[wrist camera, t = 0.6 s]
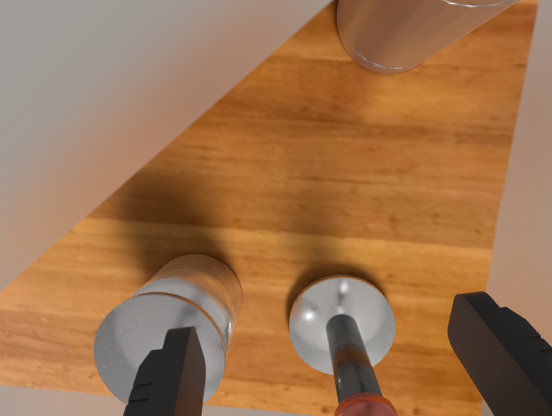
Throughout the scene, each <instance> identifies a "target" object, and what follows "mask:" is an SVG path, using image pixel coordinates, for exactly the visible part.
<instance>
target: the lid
mask: <svg viewBox="0 0 552 416" xmlns="http://www.w3.org/2000/svg"><path fill="white" fill-rule="evenodd" d="M289 332H290V338H291V342H292V344H293V347H294V349H295V350H296V352H297V353H298V355H299V356H300V357H301V358H302V359H303V360H304V362H306V363H307V364H308V365H309V366H311V367H313V368H314V369H316V370H318V371H320V372H323V373H326V374H331V375H334V379H335V385H336V391H337V397H338V402H339V406H338V407H337V409H336V411H335V415H334V416H398V414H397V412H396V409H395V408H394V406H393V405H392V403H391V402H390V401H389V400H387V399H386V398H384V397H383V396H382V393H381V391H380V388H379V385H378V382H377V379H376V376H375V374H374V371H373V368H372V367H373V366H375V365H376V364H377V363H379V362H380V361H381V360H382V359H383V358H384V356H385V355H386V354H387V353H388V351H389V349H390V348H391V345H392V343H393V340H394V336H395V318H394V314H393V311H392V309H391V307H390V305H389V303H388V302H387V300H386V298H385V297H384V295H383V294H382V293H381V292H380V290H379V289H378V288H377V287H375V286H374V285H373V284H371V283H370V282H368V281H367V280H364V279H362V278H360V277H357V276H353V275H347V274H335V275H329V276H325V277H322V278H319V279H317V280H315V281H313V282H312V283H310V284H309V285H307V286H306V287H305V288H304V289H303V290H302V291H301V292H300V293H299V295H298V296H297V297H296V299H295V301H294V303H293V305H292V308H291V312H290V319H289Z"/></svg>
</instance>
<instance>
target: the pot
mask: <svg viewBox="0 0 552 416" xmlns="http://www.w3.org/2000/svg"><path fill="white" fill-rule="evenodd" d="M241 307H242V291H241V287H240V284H239V282H238V280H237V278H236V276H235V275H234V273H233V272H232V271H231V270H230V269H229V268H228V267H227V266H226V265H225V264H224V263H222V262H221V261H219V260H217V259H215V258H213V257H210V256H207V255H202V254H187V255H182V256H180V257H177V258H175V259H173V260H171V261H170V262H168V263H167V264H166V265H165V266H164V267H163V268H162V269H160V270H159V271H158V272H157V273H156V274H155V275H154V276H153V277H152V278H151V279H150V280H149V281H148V282H146V283H145V284H144V285H143V286H142V287H141V288H140V289H139V290H138V291H137V292H136V293H135V294H134V295H132V296H131V297H130V298H128V299H126V300H125V301H123V302H122V303H120V304H119V305H118V306H117V307H115V308H114V309H113V310H112V311H111V312H110V313H109V314H108V315H107V316H106V317H105V319H104V320H103V321H102V323H101V325H100V326H99V329H98V331H97V334H96V337H95V342H94V358H95V363H96V367H97V370H98V373H99V375H100V377H101V379H102V380H103V382H104V384H105V385H106V387H107V388H108V389H109V390H110V391H111V392H112V393H113V394H114V395H115V396H116V397H117V398H118V399H119V400H121V401H122V402H123V403H125V404H126V405H128V399H129V396H130V393H131V390H132V389H133V384H134V380H135V377H136V374H137V371H138V368H139V366H140V365H141V363H142V362H143V360H144V359H145V358H146V356H147V355H148V354H149V352H150V351H151V350H156V349H162V347H163V344H164V340H165V336H166V333H167V331H168V330H169V329H174V328H182V327H190V326H194V327H195V329H196V332H197V335H198V338H199V341H200V345H201V348H202V351H203V354H204V358H205V363H206V381H205V389H204V397H203V404H204V403H205V402H206V401H208V400H209V399H210V397H211V396H212V395H213V394H214V393H215V391H216V390H217V388H218V386H219V384H220V382H221V379H222V376H223V373H224V370H225V365H226V354H227V351H228V348H229V345H230V342H231V339H232V336H233V333H234V330H235V327H236V323H237V320H238V317H239V314H240V311H241Z"/></svg>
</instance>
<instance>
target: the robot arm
mask: <svg viewBox="0 0 552 416" xmlns="http://www.w3.org/2000/svg"><path fill="white" fill-rule="evenodd" d="M518 1H519V0H339V2H338V7H337V29H338V34H339V38H340V40H341V42H342V45H343V47H344V49H345V50H346V51H347V53H348V54H349V56H350V57H351V58H352V59H353V60H354V61H355V62H357V63H358V64H359V65H360V66H362V67H364V68H366V69H368V70H370V71H374V72H377V73H384V74H394V73H400V72H404V71H407V70H409V69H412V68H414V67H416V66H417V65H419V64H421V63H422V62H424V61H425V60H427V59H429V58H430V57H432V56H433V55H435V54H437V53H438V52H440V51H442V50H443V49H445V48H446V47H448V46H449V45H451V44H452V43H454V42H456V41H457V40H459V39H460V38H462V37H463V36H465V35H466V34H468V33H470V32H471V31H473V30H474V29H476V28H477V27H479V26H480V25H482V24H484V23H485V22H487V21H488V20H490V19H491V18H493V17H494V16H496V15H498V14H499V13H501V12H502V11H504V10H505V9H507V8H508V7H510V6H512V5H513V4H515V3H516V2H518ZM448 337H449V341H450V344H451V346H452V348H453V350H454V352H455V353H456V355H457V357H458V358H459V360H460V361H461V363H462V365H463V366H464V368H465V369H466V371H467V373H468V374H469V376H470V377H471V379H472V381H473V382H474V384H475V385H476V387H477V389H478V390H479V392H480V393H481V395H482V397H483V398H484V400H485V401H486V403H487V405H488V406H489V408H490V409H491V411H492V413H493V414H494V416H552V347H551V346H550V345H549V344H548V343H547V342H546V341H545V340H544V339H542V338H541V336H540V334H539V333H538V332H537V331H536V330H535V329H534V328H533V327H532V326H531V325H530V324H529V322H528V321H527V320H526V319H524V318H522V317H521V316H520V315H518V314H516V313H515V312H513V311H512V310H510V309H509V308H507V307H502V308H500V307H499V306H498V305H497V304H496V302H495V301H494V300H493V299H492V298H491V297H490V296H489V295H488V294H487V293H486V292H483V291H480V292H472V293H464V294H457V295H456V296H455V298H454V302H453V306H452V311H451V315H450V320H449V325H448ZM205 381H206V363H205V358H204V354H203V351H202V348H201V345H200V341H199V338H198V335H197V332H196V329H195V327H194V326H190V327H182V328H174V329H169V330H168V331H167V333H166V336H165V340H164V344H163V347H162V349H156V350H151V351H150V352H149V354H148V355H147V356H146V358H145V359H144V360H143V362H142V363H141V365H140V366H139V368H138V371H137V374H136V377H135V380H134V384H133V389H132V390H131V393H130V396H129V399H128V405H127V406H126V409H125V412H124V415H123V416H201V414H202V406H203V397H204V389H205Z"/></svg>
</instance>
